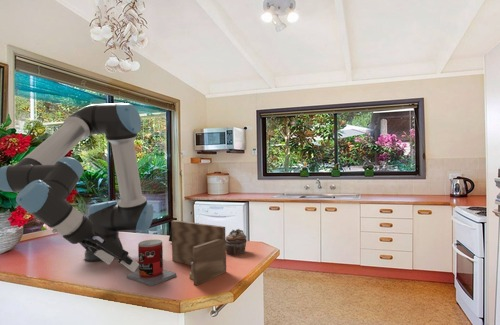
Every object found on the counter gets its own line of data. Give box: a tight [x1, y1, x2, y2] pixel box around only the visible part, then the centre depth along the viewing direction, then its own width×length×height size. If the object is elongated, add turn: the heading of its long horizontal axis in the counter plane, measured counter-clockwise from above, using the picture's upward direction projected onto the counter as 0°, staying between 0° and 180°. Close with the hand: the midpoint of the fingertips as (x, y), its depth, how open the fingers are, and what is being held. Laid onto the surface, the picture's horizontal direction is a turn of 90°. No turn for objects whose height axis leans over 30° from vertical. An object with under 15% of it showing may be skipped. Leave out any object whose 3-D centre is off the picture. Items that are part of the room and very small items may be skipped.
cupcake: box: [225, 228, 247, 256], centre depth 134 cm, size 10×10×10 cm
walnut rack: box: [170, 219, 227, 286], centre depth 112 cm, size 27×14×16 cm, turn 54°
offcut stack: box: [189, 262, 193, 280], centre depth 107 cm, size 4×9×5 cm, turn 144°
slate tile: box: [126, 269, 177, 287], centre depth 107 cm, size 14×10×1 cm
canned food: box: [137, 239, 164, 278], centre depth 107 cm, size 8×8×11 cm
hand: (123, 264), depth 99 cm, fingers open, 13 cm apart
